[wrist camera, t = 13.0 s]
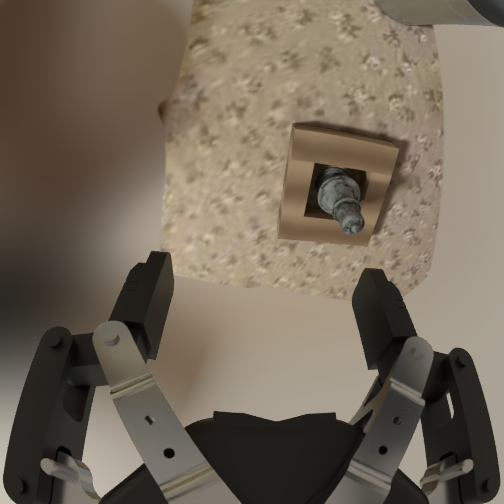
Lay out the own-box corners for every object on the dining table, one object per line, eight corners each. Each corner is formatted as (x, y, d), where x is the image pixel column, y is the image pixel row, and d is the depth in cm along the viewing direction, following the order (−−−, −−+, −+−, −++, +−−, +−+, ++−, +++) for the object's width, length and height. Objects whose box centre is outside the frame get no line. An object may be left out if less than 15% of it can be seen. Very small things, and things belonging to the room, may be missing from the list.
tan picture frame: (292, 123, 34) (295, 129, 32) (390, 141, 34) (399, 149, 32) (276, 226, 44) (277, 238, 41) (361, 235, 44) (367, 246, 42)
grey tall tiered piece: (312, 167, 38) (331, 212, 28) (353, 164, 37) (384, 207, 28) (313, 204, 41) (330, 256, 32) (352, 200, 41) (378, 251, 31)
